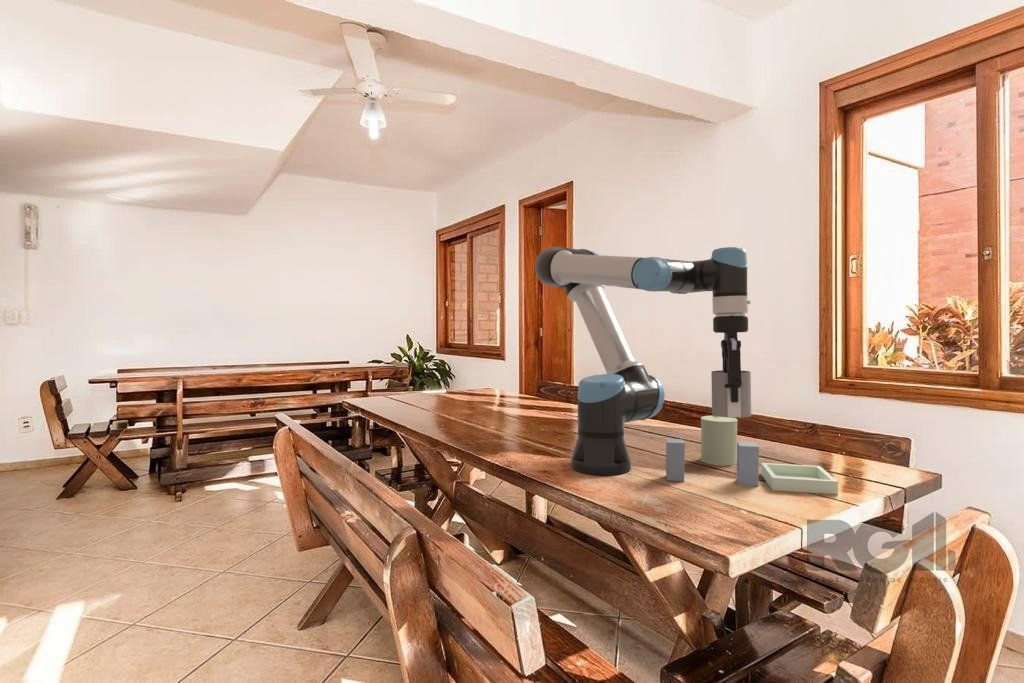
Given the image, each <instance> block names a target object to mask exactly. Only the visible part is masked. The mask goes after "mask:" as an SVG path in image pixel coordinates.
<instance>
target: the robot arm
mask: <svg viewBox="0 0 1024 683" xmlns="http://www.w3.org/2000/svg"><path fill="white" fill-rule="evenodd" d="M534 262H535V263H534V271H535V275H536V277H537V279H538V280H539V281H540V282H541V283H542V284H544V285H545V286H547V287H550V288H559V289H560V288H561V289H564V291H565V293H566V296H567V298H568V299H569V301H572V302H575V303H576V305H577V308H578V311H579V312H580V315H581V317H582V319H583V322H584V325H585V326H586V328H587V331H588V333H589V335H590V337H591V340H592V343H593V345H594V347H595V348H596V349H595V350H596V351H597V354H598V356H599V359H600V361H601V363H602V365H603V367H604V370H605V372H606V373H604V374H603V373H602V374H592V375H589V376H586V377H583V378H581V380H580V381H579V382H578V386H577V387H578V388H577V395H576V397H577V438H576V442H575V445H574V447H573V451H572V455H571V456H570V457H571V458H570V460H571V461H570V467H571V469H573V470H574V471H576V472H579V473H583V474H588V475H597V476H613V475H614V476H615V475H621V474H626V473H628V472H629V471H631V469H632V459H631V456H630V453H629V449H628V447H627V444H626V441H625V440H626V439H625V423H631V422H637V421H645V420H647V419H649V418H653V417H655V416H657V414H658V413H660V411H661V410H662V408H663V406H664V403H665V399H666V398H665V388H664V386H663V384H662V382H661V381H660V380H659V379H658V378H657V377H654V376H653V375H650V374H648V371H647V369H646V367H645V364H643V363H640V362H638V361H636V358H635V357H634V355H633V353H632V350H631V348H630V346H629V343H628V342H627V339H626V337H625V335H624V333H623V331H622V328H621V326H620V324H619V322H618V320H617V318H616V316H615V314H614V313H615V312H614V311H613V309H612V307H611V305H610V302H609V300H608V298H607V296H606V293H605V291H604V289H605V286H606V287H612V288H614V287H615V288H626V289H636V290H640V291H641V290H642V291H643V290H644V291H645V292H655V293H657V292H670V293H671V294H677V295H687V294H690V293H702V292H704V293H705V292H712V314H713V315H714V317H713V319H712V326H713V327H712V331H713V332H714V333H716V334H718V333H720V334H721V333H722V334H723V333H724V335H723V339H722V340H721V341H720V347H721V357H722V358H721V359H722V370H724V372H725V373H727V374H728V384H725V388H727V412H728V417H741V390H740V386H741V385H742V382H741V371H742V367H741V366H742V364H741V355H742V354H741V347H742V341H741V340H739V338H738V333H747V332H748V331H749V317H748V316H747V315H746V314H748V312H749V311H748V310H749V307H748V305H750V304H751V302H752V301H751V300H749V299H748V268H749V265H748V259H747V251H746V249H745V248H743V247H742V246H741V247H740V246H726V247H719V248H716V249H713V251H712V252H711V256H710V258H709V259H703V260H695V261H694V260H693V261H688V260H678V259H669V258H661V257H657V256H650V257H641V256H640V257H639V256H624V255H623V256H620V255H600V254H598V253H597V252H596V251H592V250H590V249H585V248H579V249H577V248H570V247H563V246H562V247H561V246H552V247H548V248H545V249H544V250H543V251H541V252H540V253H539V254H538V256H537V258H536V260H535V261H534Z"/></svg>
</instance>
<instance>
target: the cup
mask: <svg viewBox="0 0 1024 683" xmlns="http://www.w3.org/2000/svg"><path fill="white" fill-rule="evenodd" d="M710 375H711V376H710V377H711V414H712V415H711V416H719V417H728V412H727V388H725V384H728V374H727V373H725V372H724V370H723V369H721V370H712V371H711V374H710ZM751 375H752V372H751V371H749V370H741V382H742V385H741V386H740V390H741V417H730V418H736V419H737V418H739V419H740V418H741V419H742V418H749V417H751V416H752V382H751V381H752V380H751V379H752V376H751Z"/></svg>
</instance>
